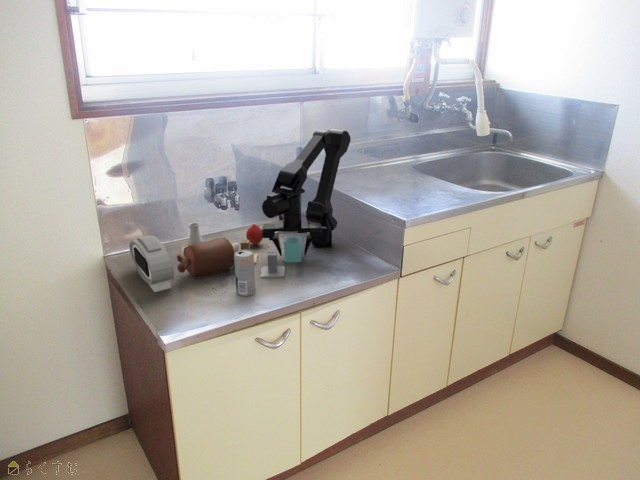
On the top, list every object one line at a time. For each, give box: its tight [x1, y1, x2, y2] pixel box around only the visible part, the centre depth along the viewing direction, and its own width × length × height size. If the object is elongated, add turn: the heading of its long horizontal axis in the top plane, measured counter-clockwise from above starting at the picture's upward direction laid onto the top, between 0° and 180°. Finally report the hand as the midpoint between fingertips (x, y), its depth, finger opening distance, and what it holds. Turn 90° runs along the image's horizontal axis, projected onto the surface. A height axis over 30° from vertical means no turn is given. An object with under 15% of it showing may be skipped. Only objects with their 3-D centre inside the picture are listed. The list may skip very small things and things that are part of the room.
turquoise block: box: [283, 236, 302, 263], centre depth 167 cm, size 5×5×7 cm
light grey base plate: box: [260, 251, 286, 279], centre depth 157 cm, size 7×7×6 cm
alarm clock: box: [129, 235, 175, 293], centre depth 152 cm, size 23×6×13 cm, turn 33°
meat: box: [176, 237, 240, 279], centre depth 157 cm, size 20×12×10 cm, turn 128°
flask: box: [187, 222, 205, 247], centre depth 171 cm, size 7×7×10 cm
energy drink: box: [234, 249, 257, 297], centre depth 145 cm, size 5×5×12 cm
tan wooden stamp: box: [234, 239, 259, 266], centre depth 166 cm, size 7×7×6 cm
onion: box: [245, 223, 264, 246], centre depth 177 cm, size 6×6×8 cm
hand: (293, 255), depth 167 cm, fingers open, 7 cm apart
